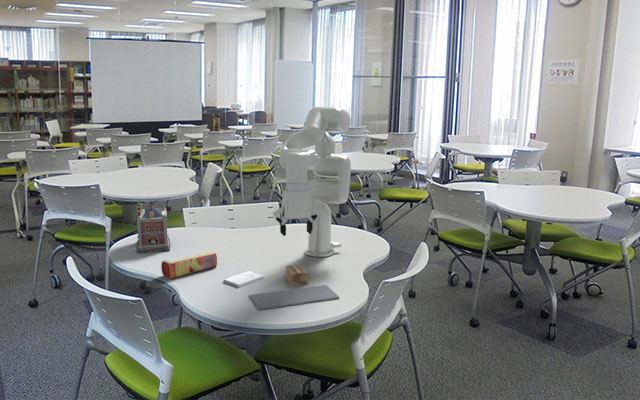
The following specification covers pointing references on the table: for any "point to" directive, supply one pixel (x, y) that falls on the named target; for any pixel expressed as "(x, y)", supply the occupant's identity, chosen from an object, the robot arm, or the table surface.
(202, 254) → the snack package
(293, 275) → the card box
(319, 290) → the mat
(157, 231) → the model building
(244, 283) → the external hard drive
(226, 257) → the table surface
